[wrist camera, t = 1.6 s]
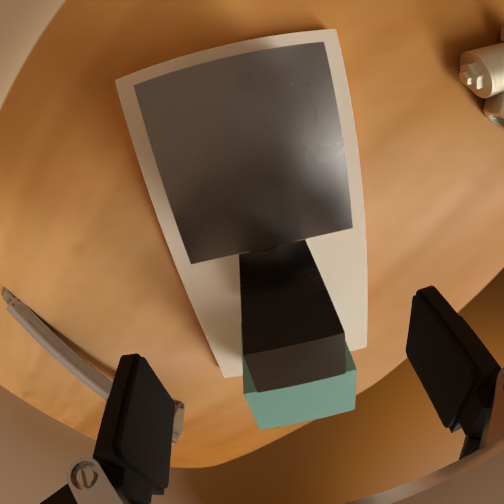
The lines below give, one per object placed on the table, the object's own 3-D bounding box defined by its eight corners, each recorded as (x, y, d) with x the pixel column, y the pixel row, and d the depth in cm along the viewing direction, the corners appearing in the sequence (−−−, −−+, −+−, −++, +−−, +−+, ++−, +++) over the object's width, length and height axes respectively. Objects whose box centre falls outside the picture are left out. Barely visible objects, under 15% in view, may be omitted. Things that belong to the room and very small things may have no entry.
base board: (330, 32, 14) (335, 28, 13) (362, 338, 25) (366, 347, 24) (120, 80, 14) (114, 80, 14) (224, 369, 25) (224, 378, 25)
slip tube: (265, 61, 13) (309, 18, 5) (310, 300, 19) (349, 424, 11) (194, 77, 13) (139, 57, 5) (257, 311, 20) (272, 441, 12)
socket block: (330, 302, 21) (356, 369, 16) (333, 346, 23) (354, 409, 18) (240, 322, 22) (243, 394, 16) (254, 363, 24) (260, 429, 18)
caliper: (185, 401, 28) (180, 455, 23) (179, 405, 29) (174, 458, 23) (6, 285, 21) (-30, 331, 15) (4, 292, 21) (-31, 337, 16)
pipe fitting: (441, 86, 16) (502, 131, 16) (474, 88, 12) (535, 141, 13) (462, 1, 12) (521, 51, 13) (493, -9, 9) (553, 51, 9)
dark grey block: (291, 59, 14) (324, 41, 8) (315, 182, 17) (352, 228, 12) (169, 87, 14) (133, 85, 9) (203, 207, 17) (190, 264, 12)
